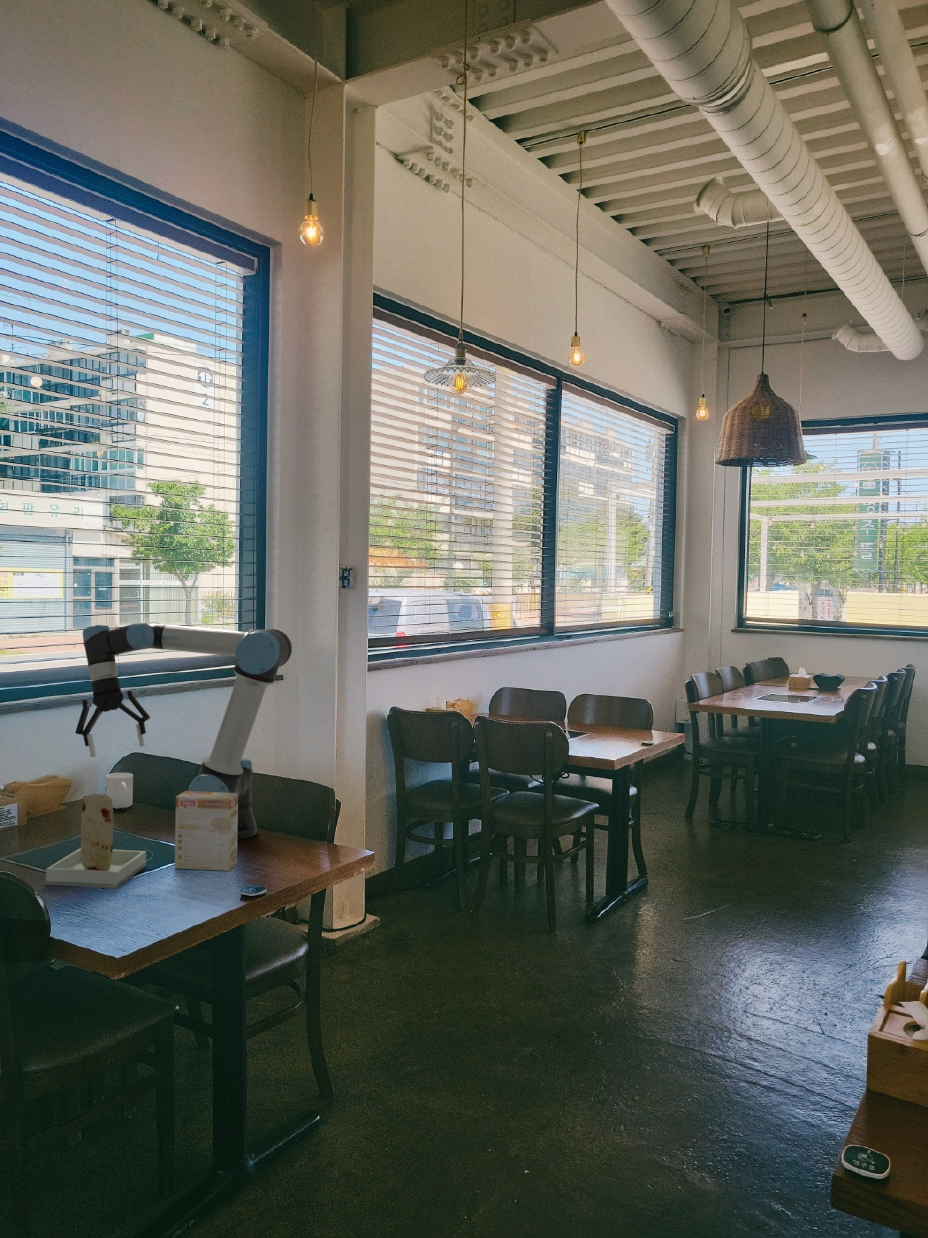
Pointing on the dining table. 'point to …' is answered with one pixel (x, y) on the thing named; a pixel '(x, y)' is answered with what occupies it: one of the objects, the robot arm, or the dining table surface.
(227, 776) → the robot arm
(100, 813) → the food model
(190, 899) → the dining table surface
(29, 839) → the dining table surface
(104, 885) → the bin
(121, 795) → the mug
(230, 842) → the coffeecake box
